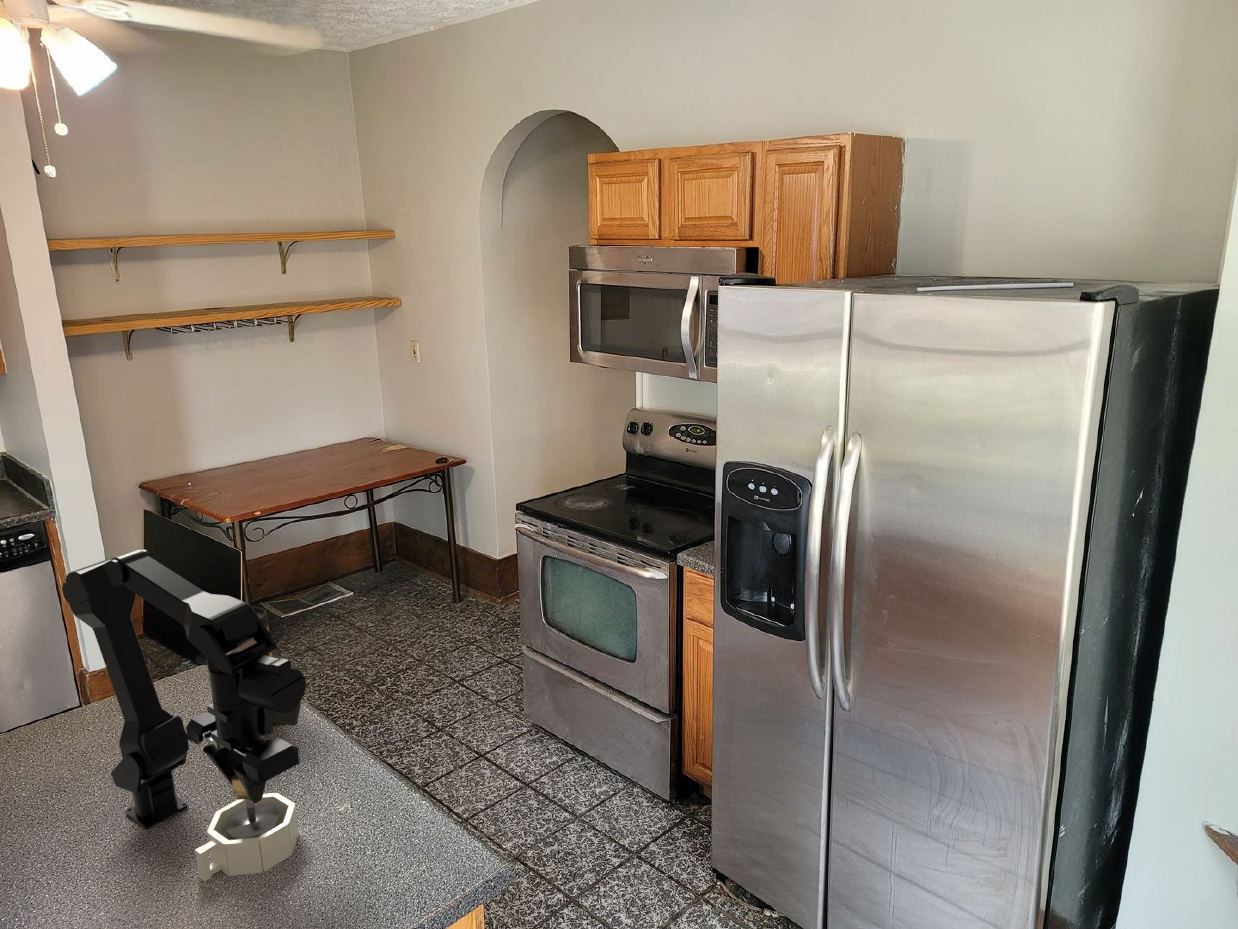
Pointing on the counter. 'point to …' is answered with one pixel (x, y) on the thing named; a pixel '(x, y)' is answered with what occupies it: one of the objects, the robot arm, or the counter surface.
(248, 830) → the plunger
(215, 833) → the cream octagonal ring
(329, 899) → the counter surface
